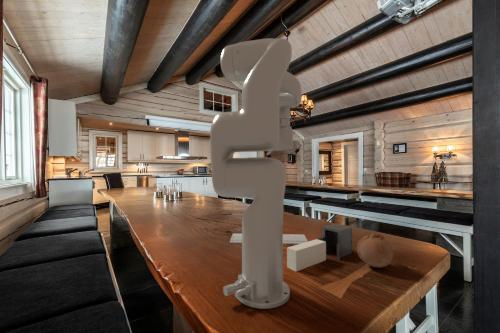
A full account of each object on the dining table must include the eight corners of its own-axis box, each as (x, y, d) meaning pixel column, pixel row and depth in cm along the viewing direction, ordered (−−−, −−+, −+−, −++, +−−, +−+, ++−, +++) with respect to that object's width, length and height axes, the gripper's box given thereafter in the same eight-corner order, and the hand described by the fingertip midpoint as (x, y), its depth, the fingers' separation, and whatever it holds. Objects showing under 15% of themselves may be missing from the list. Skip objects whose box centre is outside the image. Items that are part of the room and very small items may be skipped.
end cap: (338, 260, 72) (338, 232, 73) (316, 252, 80) (316, 227, 80) (354, 253, 78) (354, 228, 78) (332, 246, 85) (331, 223, 85)
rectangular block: (296, 272, 64) (295, 250, 65) (287, 268, 67) (287, 247, 67) (325, 260, 73) (325, 241, 73) (316, 257, 76) (316, 239, 76)
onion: (381, 261, 72) (381, 229, 72) (400, 274, 62) (400, 238, 63) (351, 260, 72) (351, 229, 72) (365, 274, 63) (365, 237, 63)
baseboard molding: (309, 247, 87) (303, 238, 99) (309, 239, 87) (303, 231, 99) (228, 245, 89) (232, 237, 101) (228, 238, 89) (232, 230, 101)
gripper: (259, 123, 96) (259, 164, 95) (301, 121, 92) (302, 164, 92) (262, 127, 103) (262, 164, 103) (301, 125, 99) (302, 164, 99)
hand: (281, 164), depth 97 cm, fingers open, 9 cm apart
